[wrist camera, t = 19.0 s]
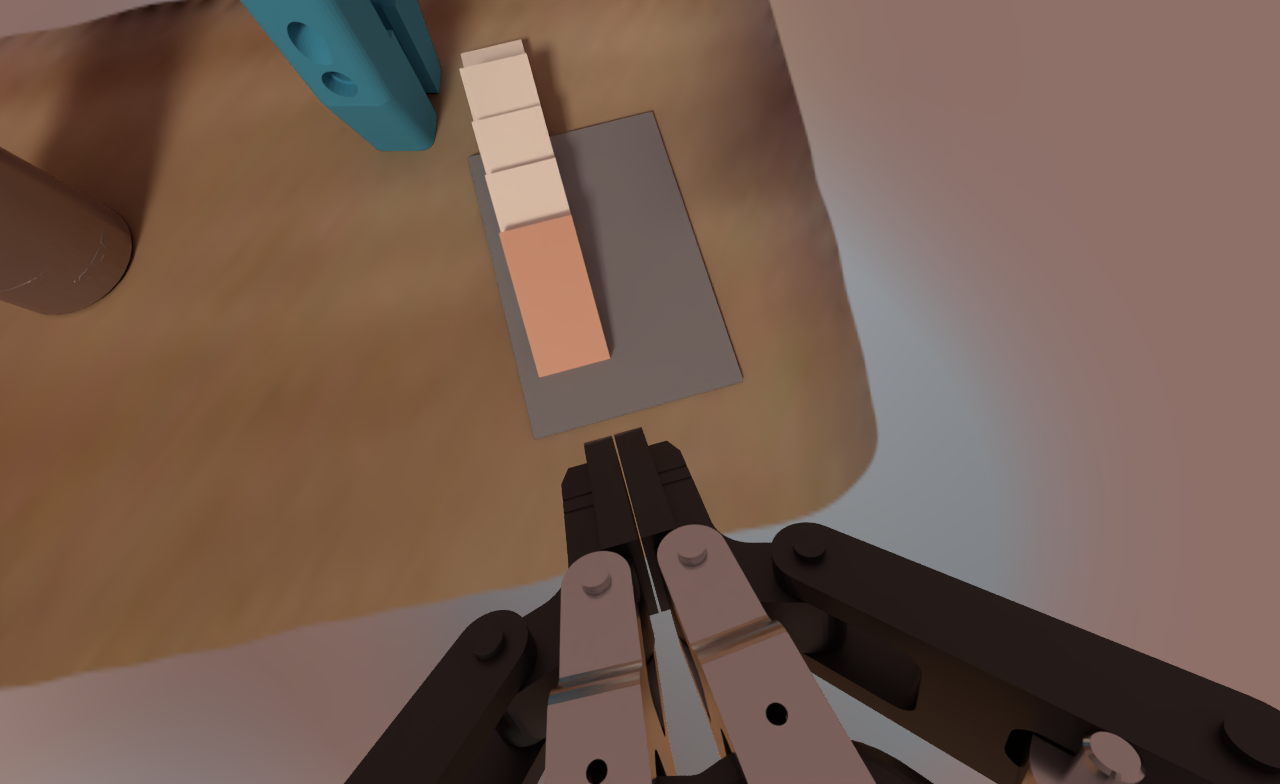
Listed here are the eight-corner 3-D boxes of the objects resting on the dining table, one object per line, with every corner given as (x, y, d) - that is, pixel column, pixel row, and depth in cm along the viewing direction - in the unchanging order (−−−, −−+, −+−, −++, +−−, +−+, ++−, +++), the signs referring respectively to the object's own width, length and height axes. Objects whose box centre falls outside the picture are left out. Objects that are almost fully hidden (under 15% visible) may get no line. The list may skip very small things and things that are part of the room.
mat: (742, 381, 36) (743, 380, 35) (535, 439, 35) (534, 438, 35) (652, 115, 41) (652, 111, 40) (469, 160, 40) (467, 157, 40)
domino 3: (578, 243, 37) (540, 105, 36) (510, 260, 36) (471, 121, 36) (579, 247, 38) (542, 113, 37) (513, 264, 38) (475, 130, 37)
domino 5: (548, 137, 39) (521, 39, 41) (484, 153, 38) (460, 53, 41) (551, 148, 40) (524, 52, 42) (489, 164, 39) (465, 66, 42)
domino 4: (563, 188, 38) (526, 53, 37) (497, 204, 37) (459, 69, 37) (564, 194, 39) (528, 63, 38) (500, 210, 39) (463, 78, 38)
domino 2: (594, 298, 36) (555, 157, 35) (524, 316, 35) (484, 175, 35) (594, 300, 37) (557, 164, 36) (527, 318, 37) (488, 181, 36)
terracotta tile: (610, 358, 35) (571, 214, 34) (539, 377, 34) (498, 233, 34) (610, 359, 36) (572, 220, 35) (541, 377, 36) (502, 237, 35)
